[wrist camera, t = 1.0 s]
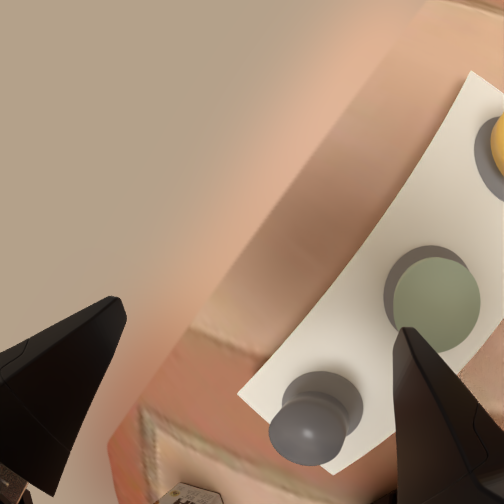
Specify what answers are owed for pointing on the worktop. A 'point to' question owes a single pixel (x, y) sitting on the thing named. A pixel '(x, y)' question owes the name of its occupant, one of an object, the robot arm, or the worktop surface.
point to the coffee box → (189, 496)
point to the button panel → (388, 274)
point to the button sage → (437, 302)
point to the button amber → (498, 143)
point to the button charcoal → (310, 428)
